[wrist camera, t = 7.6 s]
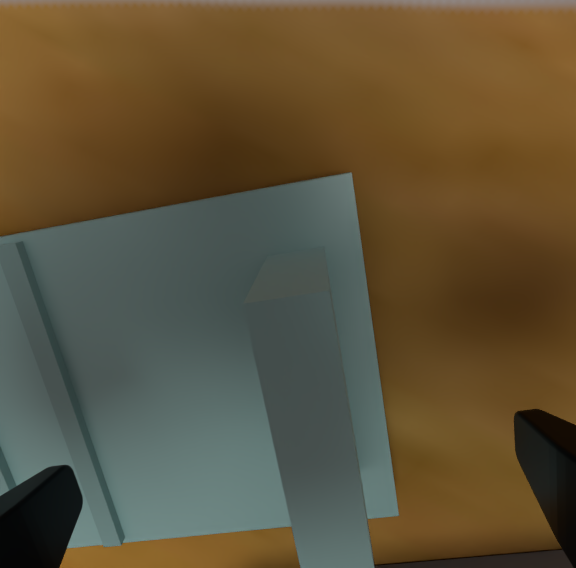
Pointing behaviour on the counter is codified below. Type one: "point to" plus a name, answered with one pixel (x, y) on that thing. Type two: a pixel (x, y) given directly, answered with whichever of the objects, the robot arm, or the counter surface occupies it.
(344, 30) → the counter surface
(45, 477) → the robot arm
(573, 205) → the counter surface
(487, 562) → the tub
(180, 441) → the lid
